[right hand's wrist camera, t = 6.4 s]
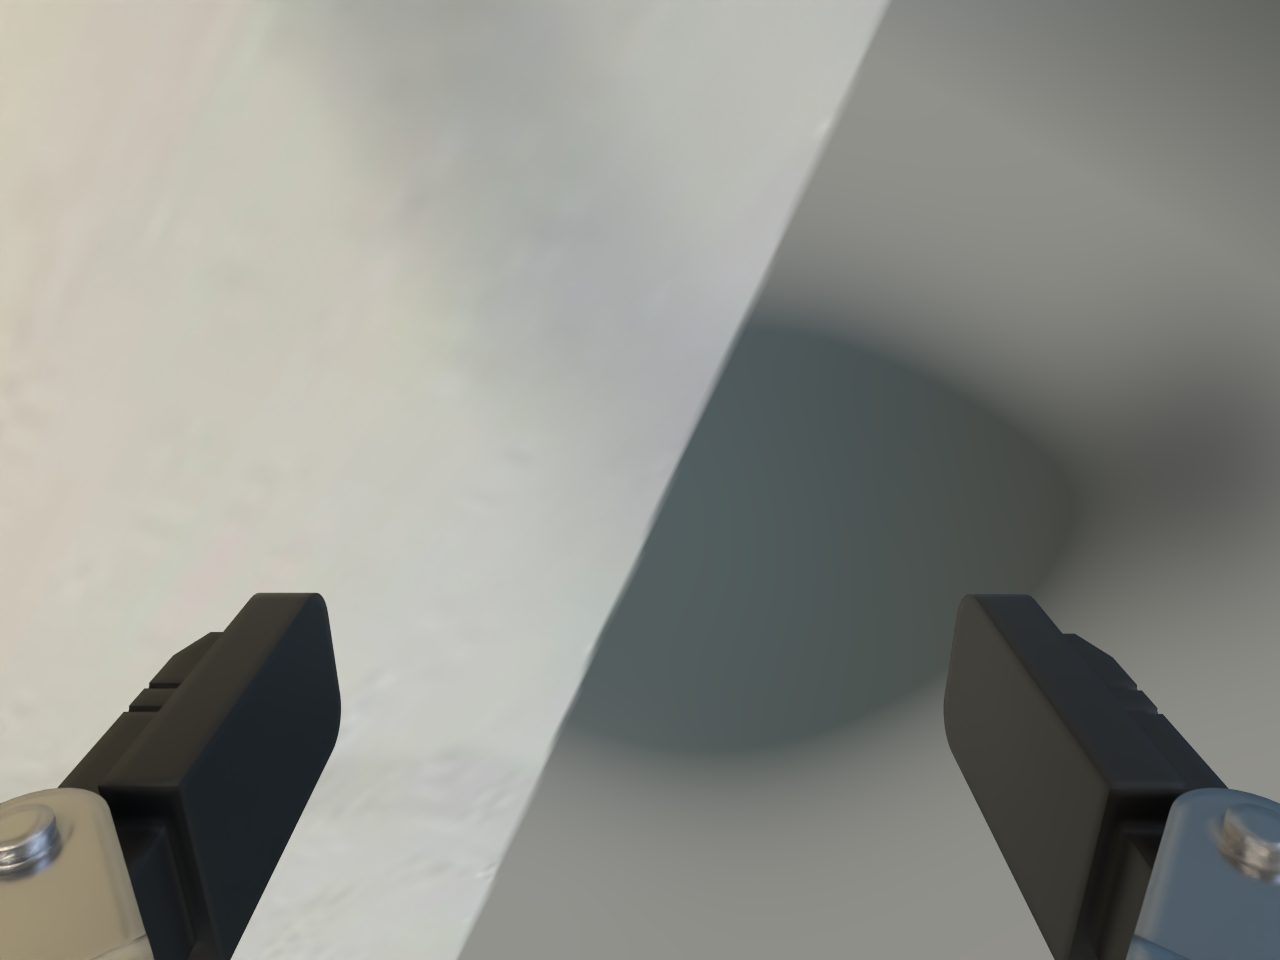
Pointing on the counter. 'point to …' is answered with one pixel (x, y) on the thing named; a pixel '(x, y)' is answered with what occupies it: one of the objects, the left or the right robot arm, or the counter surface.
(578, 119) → the counter surface
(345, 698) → the counter surface
